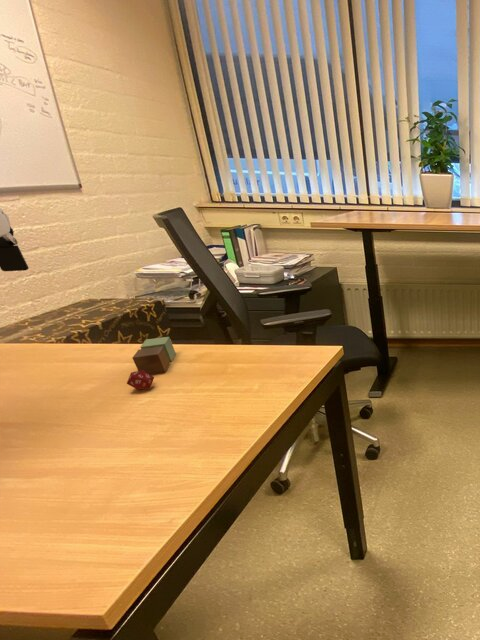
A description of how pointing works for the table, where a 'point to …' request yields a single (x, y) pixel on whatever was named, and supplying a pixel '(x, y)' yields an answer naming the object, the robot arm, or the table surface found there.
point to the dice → (140, 380)
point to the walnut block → (151, 360)
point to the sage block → (159, 343)
